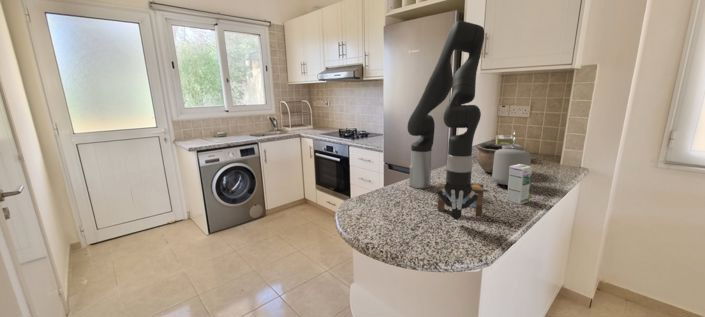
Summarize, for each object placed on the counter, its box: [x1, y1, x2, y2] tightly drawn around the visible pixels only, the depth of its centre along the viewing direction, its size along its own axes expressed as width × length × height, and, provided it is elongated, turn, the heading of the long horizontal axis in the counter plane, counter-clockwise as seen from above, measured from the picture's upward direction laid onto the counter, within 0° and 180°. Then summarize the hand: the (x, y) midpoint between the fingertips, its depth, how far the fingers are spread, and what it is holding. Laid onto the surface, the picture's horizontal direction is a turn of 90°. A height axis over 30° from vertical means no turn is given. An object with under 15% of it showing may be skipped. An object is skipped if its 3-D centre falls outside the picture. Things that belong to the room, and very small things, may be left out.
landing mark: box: [446, 192, 477, 208], centre depth 120 cm, size 14×14×1 cm
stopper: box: [471, 182, 484, 188], centre depth 133 cm, size 14×2×2 cm, turn 65°
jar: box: [491, 130, 532, 186], centre depth 134 cm, size 19×15×25 cm
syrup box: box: [506, 164, 533, 205], centre depth 115 cm, size 6×6×14 cm
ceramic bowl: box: [475, 141, 523, 174], centre depth 156 cm, size 22×22×15 cm
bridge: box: [437, 183, 485, 218], centre depth 106 cm, size 3×15×10 cm, turn 65°
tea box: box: [495, 134, 516, 145], centre depth 186 cm, size 15×10×15 cm, turn 157°
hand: (456, 218), depth 97 cm, fingers closed
